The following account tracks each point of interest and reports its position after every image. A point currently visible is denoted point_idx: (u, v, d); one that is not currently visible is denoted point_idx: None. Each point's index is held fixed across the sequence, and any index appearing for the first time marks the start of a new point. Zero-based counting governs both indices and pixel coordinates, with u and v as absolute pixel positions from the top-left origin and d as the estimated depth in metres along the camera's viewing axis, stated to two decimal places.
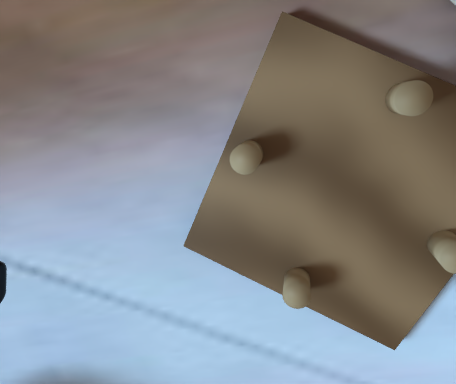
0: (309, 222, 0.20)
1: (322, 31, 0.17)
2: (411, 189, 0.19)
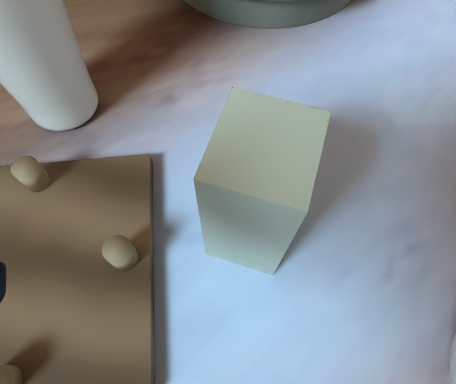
0: (0, 309, 0.19)
1: None
2: (77, 232, 0.21)
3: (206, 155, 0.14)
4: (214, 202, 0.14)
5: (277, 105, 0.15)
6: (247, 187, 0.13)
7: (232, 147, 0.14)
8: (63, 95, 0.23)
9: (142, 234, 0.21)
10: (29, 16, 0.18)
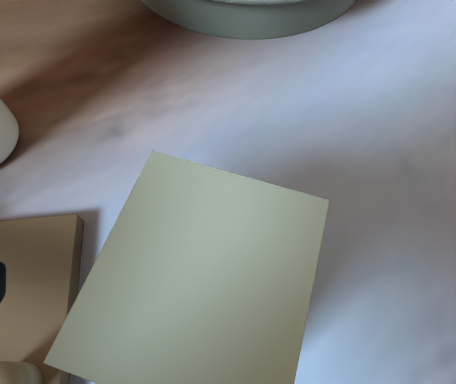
0: None
1: None
2: None
3: (80, 302, 0.07)
4: None
5: (231, 187, 0.08)
6: None
7: (135, 282, 0.07)
8: None
9: (52, 342, 0.15)
10: None
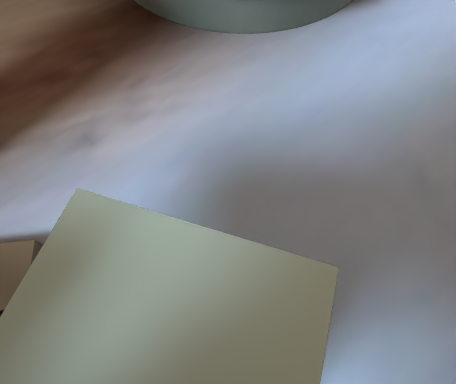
0: None
1: None
2: None
3: None
4: None
5: (190, 248, 0.05)
6: None
7: None
8: None
9: None
10: None
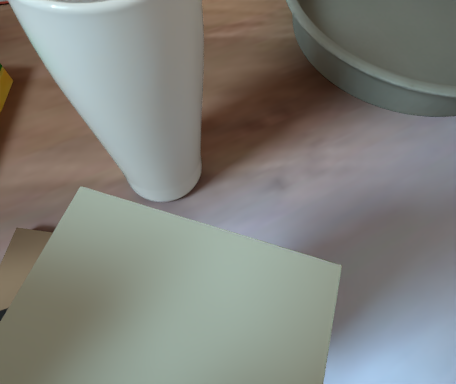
0: None
1: (51, 234, 0.21)
2: None
3: None
4: None
5: (193, 245, 0.05)
6: None
7: None
8: (172, 177, 0.20)
9: None
10: (169, 114, 0.15)
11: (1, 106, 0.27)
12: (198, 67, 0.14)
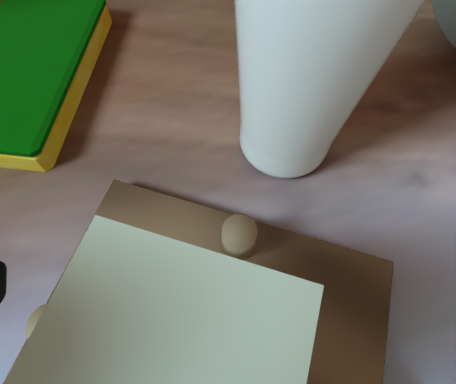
0: None
1: (152, 192, 0.18)
2: None
3: None
4: None
5: (195, 268, 0.06)
6: None
7: None
8: (313, 145, 0.16)
9: None
10: (378, 46, 0.11)
11: (101, 46, 0.24)
12: None
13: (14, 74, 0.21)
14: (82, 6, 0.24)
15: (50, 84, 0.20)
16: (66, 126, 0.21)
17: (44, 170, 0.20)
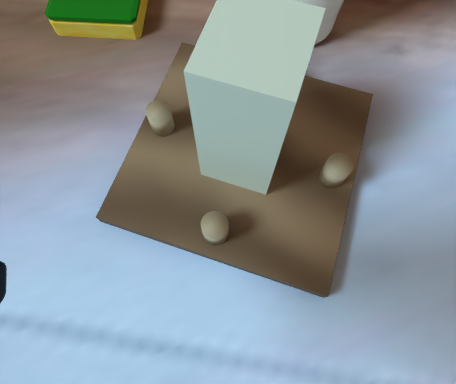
0: None
1: None
2: (293, 139, 0.23)
3: (196, 49, 0.13)
4: (205, 101, 0.14)
5: (270, 2, 0.14)
6: (236, 79, 0.13)
7: (223, 42, 0.14)
8: None
9: None
10: None
11: None
12: None
13: None
14: None
15: None
16: (145, 7, 0.28)
17: (135, 37, 0.28)
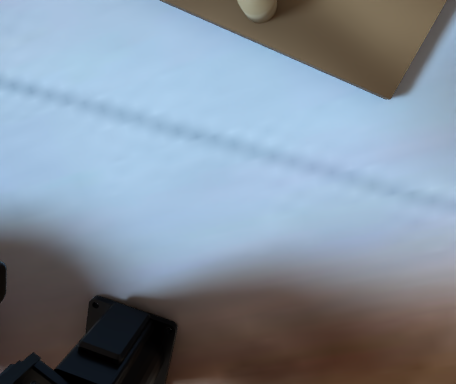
0: None
1: None
2: None
3: None
4: None
5: None
6: None
7: None
8: None
9: None
10: None
11: None
12: None
13: None
14: None
15: None
16: None
17: None
